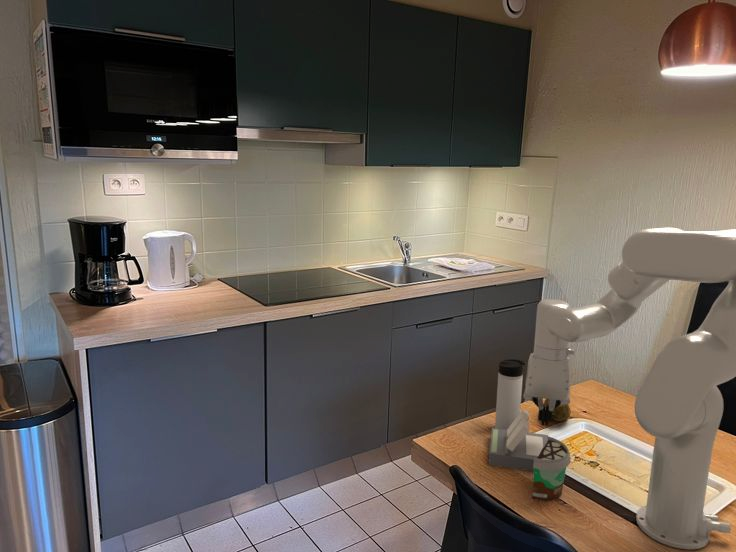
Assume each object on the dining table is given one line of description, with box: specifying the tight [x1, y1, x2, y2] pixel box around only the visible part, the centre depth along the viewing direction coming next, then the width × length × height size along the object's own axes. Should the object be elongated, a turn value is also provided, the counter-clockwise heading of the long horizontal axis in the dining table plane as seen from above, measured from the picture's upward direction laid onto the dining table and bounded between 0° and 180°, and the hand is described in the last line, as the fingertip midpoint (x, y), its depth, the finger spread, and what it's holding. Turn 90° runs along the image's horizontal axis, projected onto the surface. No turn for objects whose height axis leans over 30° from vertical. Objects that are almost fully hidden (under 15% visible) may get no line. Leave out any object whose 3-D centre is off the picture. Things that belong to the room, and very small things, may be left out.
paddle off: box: [505, 419, 530, 455], centre depth 129 cm, size 2×4×8 cm, turn 165°
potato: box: [543, 398, 572, 422], centre depth 153 cm, size 8×13×8 cm, turn 142°
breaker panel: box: [488, 427, 549, 472], centre depth 134 cm, size 14×14×3 cm
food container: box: [531, 435, 571, 502], centre depth 118 cm, size 12×6×10 cm, turn 148°
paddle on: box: [505, 408, 530, 443], centre depth 135 cm, size 2×4×8 cm, turn 165°
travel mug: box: [494, 358, 526, 430], centre depth 145 cm, size 6×7×20 cm
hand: (544, 423), depth 133 cm, fingers closed
